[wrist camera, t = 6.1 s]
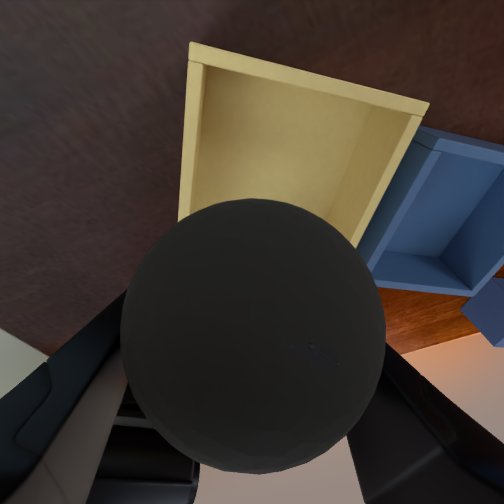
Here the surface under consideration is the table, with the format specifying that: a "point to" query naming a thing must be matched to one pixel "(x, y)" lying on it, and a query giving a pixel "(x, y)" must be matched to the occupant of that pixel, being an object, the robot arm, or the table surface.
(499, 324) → the blue block
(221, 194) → the cream bin
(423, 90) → the table surface
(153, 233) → the table surface
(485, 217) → the blue bin
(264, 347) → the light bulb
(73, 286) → the table surface
